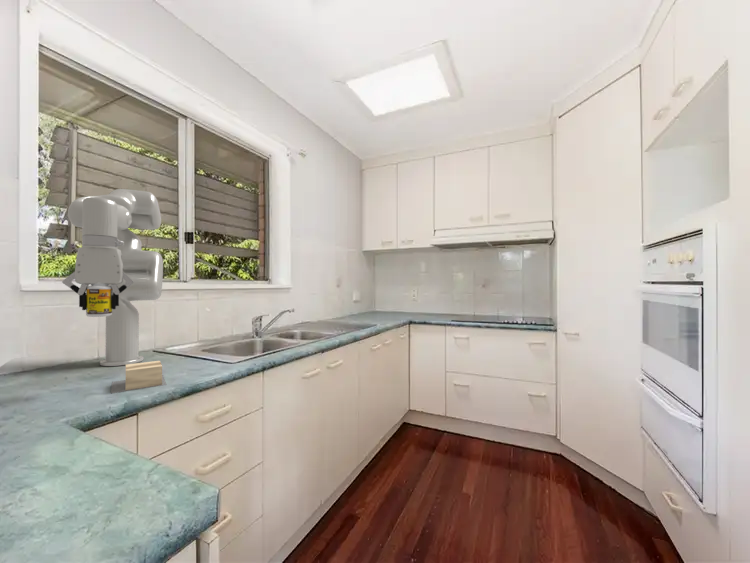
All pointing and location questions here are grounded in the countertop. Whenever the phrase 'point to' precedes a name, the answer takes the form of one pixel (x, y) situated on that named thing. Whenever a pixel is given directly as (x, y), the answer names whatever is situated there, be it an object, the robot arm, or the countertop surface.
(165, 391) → the countertop surface
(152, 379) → the maple block
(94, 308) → the supplement bottle
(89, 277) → the robot arm
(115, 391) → the slate tile
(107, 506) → the countertop surface
